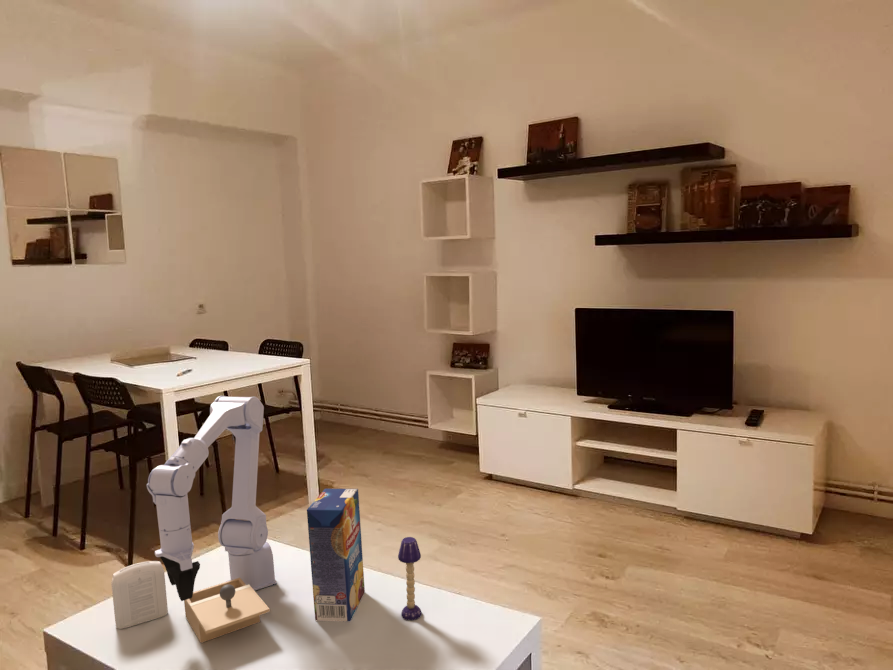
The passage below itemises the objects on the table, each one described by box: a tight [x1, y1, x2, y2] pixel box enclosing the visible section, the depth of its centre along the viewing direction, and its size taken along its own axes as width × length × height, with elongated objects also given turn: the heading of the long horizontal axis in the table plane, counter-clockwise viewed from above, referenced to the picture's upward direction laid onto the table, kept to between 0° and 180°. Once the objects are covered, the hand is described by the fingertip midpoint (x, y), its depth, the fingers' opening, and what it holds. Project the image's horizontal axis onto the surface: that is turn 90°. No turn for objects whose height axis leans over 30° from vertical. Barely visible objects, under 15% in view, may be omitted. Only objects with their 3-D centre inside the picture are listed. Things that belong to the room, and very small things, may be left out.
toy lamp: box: [397, 536, 422, 621], centre depth 138 cm, size 5×5×17 cm
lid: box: [189, 584, 271, 634], centre depth 135 cm, size 12×12×5 cm
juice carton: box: [306, 488, 366, 623], centre depth 143 cm, size 12×8×24 cm, turn 172°
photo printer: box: [111, 560, 169, 630], centre depth 142 cm, size 10×4×12 cm, turn 123°
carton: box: [183, 578, 261, 644], centre depth 141 cm, size 12×12×5 cm
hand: (181, 590), depth 133 cm, fingers open, 7 cm apart
